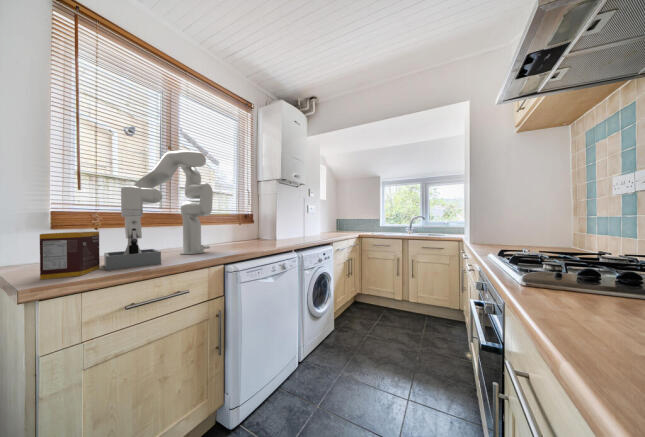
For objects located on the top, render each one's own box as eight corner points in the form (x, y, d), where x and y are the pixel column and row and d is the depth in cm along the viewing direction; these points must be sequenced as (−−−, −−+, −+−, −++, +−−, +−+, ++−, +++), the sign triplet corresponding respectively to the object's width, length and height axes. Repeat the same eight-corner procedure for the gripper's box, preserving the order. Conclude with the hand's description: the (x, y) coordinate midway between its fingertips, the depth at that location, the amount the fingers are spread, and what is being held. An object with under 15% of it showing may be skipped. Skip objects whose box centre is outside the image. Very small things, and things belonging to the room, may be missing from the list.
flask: (147, 256, 107) (146, 235, 107) (132, 259, 100) (132, 236, 100) (133, 256, 107) (132, 235, 108) (117, 259, 100) (117, 236, 100)
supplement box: (100, 268, 95) (99, 231, 96) (80, 276, 82) (80, 232, 82) (65, 271, 91) (65, 232, 91) (39, 279, 77) (38, 233, 77)
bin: (153, 259, 116) (153, 248, 116) (161, 263, 103) (160, 251, 103) (104, 265, 103) (104, 252, 103) (106, 270, 91) (106, 256, 91)
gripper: (145, 213, 100) (146, 254, 100) (140, 214, 112) (140, 251, 112) (123, 213, 95) (123, 256, 95) (119, 214, 107) (120, 253, 107)
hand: (132, 253), depth 104 cm, fingers closed on flask, 5 cm apart
